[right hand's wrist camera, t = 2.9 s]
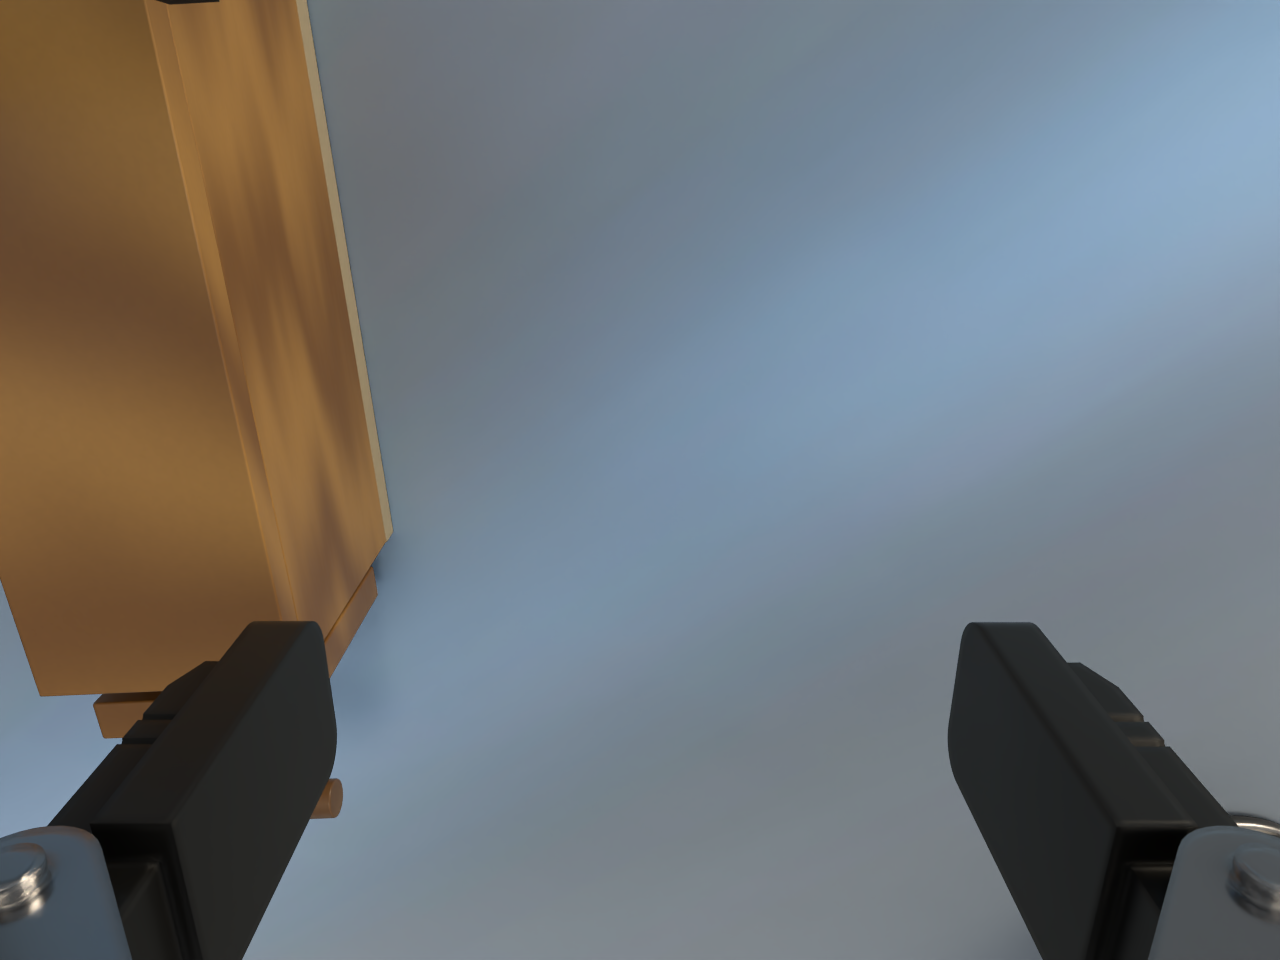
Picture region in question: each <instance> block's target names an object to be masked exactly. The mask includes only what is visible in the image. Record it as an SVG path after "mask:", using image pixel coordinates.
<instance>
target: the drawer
mask: <svg viewBox="0 0 1280 960" xmlns="http://www.w3.org/2000/svg"><path fill="white" fill-rule="evenodd" d="M377 595H378V593H377V587H376V581H375V575H374V570H373V567H370V568H369V569H368V571H367V573H366V574H365V576H364V577H363V579H362V581H361V582H360V584H359V585H358V587H357V588H356V590H355V592H354V593H353V595H352V596H351V598H350V600H349V601H348V603H347V604H346V606H345V608H344V609H343V611H342V612H341V614H340V615H339V617H338V619H337V620H336V622H335V623H334V625H333V627H332V628H331V630H330V631H329V633H328V635H327V636H326V638H325V639H324V644H325V650H326V657H327V664H328V671H329V678H330V677H331V676H332V674H333V672H334V670H335V669H336V667H337V665H338V663H339V662H340V660H341V658H342V656H343V655H344V653H345V651H346V649H347V648H348V646H349V644H350V642H351V641H352V639H353V637H354V635H355V634H356V632H357V630H358V629H359V627H360V625H361V623H362V622H363V620H364V618H365V616H366V615H367V613H368V611H369V609H370V608H371V606H372V604H373V602H374V601H375V599H376V597H377ZM161 692H162V691H154V692H131V693H108V694H102V695H101V696H100V697H99V698H98V699H97V700H96V701H95V702H94V704H93V707H94V710H95V713H96V716H97V719H98V723H99V726H100V729H101V732H102V735H103V737H104V738H123V737H124V736H125V734H126V733H127V732H128V731H129V730H130V729H131V727H132V726H133V725H134V724H135V723H136V722H137V720H142V719H143V713H144V712H145V711H146V710H147V709H148V707H149V706H150V705H151V704H152V703H153V702H154V700H155V699H156V698H157V697H158V696H159V695H160V693H161ZM342 801H343V789H342V784H341V781H340V780H339V779H337V778H335V779H329V780H328V782H327V784H326V786H325V788H324V790H323V792H322V795H321V797H320V799H319V801H318V803H317V805H316V807H315V809H314V811H313V813H312V815H311V817H310V819H321V818H335V817H337V816H338V814H339V813H340V810H341V806H342Z"/></svg>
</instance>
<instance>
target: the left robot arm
mask: <svg viewBox="0 0 1280 960" xmlns="http://www.w3.org/2000/svg"><path fill="white" fill-rule="evenodd" d="M156 1H159V2H163V3H166V4H169V5H173V4H191V3H208V2H220V1H219V0H156Z"/></svg>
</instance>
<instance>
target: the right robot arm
mask: <svg viewBox="0 0 1280 960" xmlns="http://www.w3.org/2000/svg"><path fill="white" fill-rule="evenodd" d="M336 745H337V728H336V719H335V712H334V706H333V699H332V692H331V685H330V678H329V671H328V664H327V657H326V650H325V644H324V638H323V634H322V630H321V628H320V626H319V625H318V623H317V622H315V621H253V622H251V623H249V624H248V625H247V626H246V628H245V629H244V630H243V631H242V633H241V634H240V635H239V636H238V638H237V639H236V640H235V641H234V643H233V644H232V645H231V646H230V648H229V649H228V650H227V651H226V653H225V654H224V655H223V657H222V658H221V659H220V660H219V661H205V662H203V663H202V664H200V665H198V666H197V667H195V668H194V669H192V670H191V671H189V672H188V673H186V674H184V675H183V676H181V677H180V678H178V679H177V680H175V681H174V682H172V683H170V684H169V685H167V686H166V688H165V689H164V690H163V691H162V692H161V693H160V695H159V696H158V697H157V698H156V699H155V700H154V702H153V703H152V704H151V705H150V706H149V707H148V709H147V710H146V711H145V712H144V713H143V719H142V720H137V722H136V723H135V724H134V725H133V726H132V727H131V729H130V730H129V731H128V732H127V733H126V734H125V736H124V737H123V738H122V744H117V745H116V746H115V747H114V748H113V750H112V751H111V752H110V753H109V754H108V755H107V757H106V758H105V759H104V760H103V761H102V762H101V764H100V765H99V766H98V767H97V768H96V769H95V771H94V772H93V773H92V774H91V775H90V776H89V778H88V779H87V780H86V781H85V782H84V783H83V785H82V786H81V787H80V788H79V789H78V790H77V792H76V793H75V794H74V795H73V796H72V798H71V799H70V800H69V801H68V802H67V803H66V805H65V806H64V807H63V808H62V809H61V810H60V812H59V813H58V814H57V815H56V816H55V817H54V819H53V820H52V821H51V822H50V823H49V824H48V826H46V827H39V828H33V829H29V830H24V831H20V832H17V833H14V834H11V835H8V836H5V837H2V838H0V960H242V959H243V957H244V954H245V952H246V950H247V948H248V946H249V944H250V942H251V940H252V938H253V936H254V934H255V932H256V930H257V927H258V925H259V923H260V921H261V919H262V917H263V915H264V913H265V911H266V909H267V907H268V905H269V903H270V900H271V898H272V896H273V894H274V892H275V890H276V888H277V886H278V884H279V882H280V880H281V878H282V876H283V873H284V871H285V869H286V867H287V865H288V863H289V861H290V859H291V857H292V855H293V853H294V851H295V849H296V846H297V844H298V842H299V840H300V838H301V836H302V834H303V832H304V830H305V828H306V826H307V824H308V822H309V819H310V817H311V815H312V813H313V811H314V809H315V807H316V805H317V803H318V801H319V799H320V797H321V795H322V792H323V790H324V788H325V786H326V784H327V782H328V780H329V778H330V775H331V772H332V769H333V765H334V760H335V754H336ZM948 751H949V758H950V764H951V768H952V772H953V775H954V778H955V780H956V782H957V784H958V786H959V789H960V791H961V793H962V795H963V797H964V799H965V801H966V803H967V805H968V807H969V809H970V811H971V813H972V815H973V817H974V819H975V821H976V823H977V825H978V828H979V830H980V832H981V834H982V836H983V838H984V840H985V842H986V844H987V846H988V848H989V850H990V852H991V854H992V856H993V858H994V860H995V862H996V864H997V866H998V869H999V871H1000V873H1001V875H1002V877H1003V879H1004V881H1005V883H1006V885H1007V887H1008V889H1009V891H1010V893H1011V895H1012V897H1013V899H1014V901H1015V903H1016V905H1017V908H1018V910H1019V912H1020V914H1021V916H1022V918H1023V920H1024V922H1025V924H1026V926H1027V928H1028V930H1029V932H1030V934H1031V936H1032V938H1033V940H1034V942H1035V944H1036V947H1037V949H1038V951H1039V953H1040V955H1041V957H1042V959H1043V960H1280V825H1279V824H1277V823H1274V822H1271V821H1268V820H1264V819H1260V818H1254V817H1247V816H1229V815H1228V814H1227V812H1226V811H1225V810H1224V809H1223V808H1222V807H1221V805H1220V804H1219V803H1218V802H1217V801H1216V800H1215V798H1214V797H1213V796H1212V795H1211V794H1210V793H1209V792H1208V790H1207V789H1206V788H1205V787H1204V786H1203V785H1202V783H1201V782H1200V781H1199V780H1198V779H1197V778H1196V776H1195V775H1194V774H1193V773H1192V772H1191V771H1190V770H1189V768H1188V767H1187V766H1186V765H1185V764H1184V763H1183V761H1182V760H1181V759H1180V758H1179V757H1178V756H1177V754H1176V753H1175V752H1174V751H1173V750H1172V749H1171V748H1170V747H1165V745H1164V739H1163V738H1162V737H1161V736H1160V735H1159V734H1158V732H1157V731H1156V730H1155V729H1154V728H1153V727H1152V725H1151V724H1150V723H1149V722H1144V720H1143V715H1142V714H1141V713H1140V712H1139V710H1138V709H1137V708H1136V707H1135V706H1134V705H1133V703H1132V702H1131V701H1130V700H1129V699H1128V698H1127V697H1126V695H1125V694H1124V693H1123V692H1122V691H1121V690H1120V688H1119V687H1117V686H1116V685H1114V684H1113V683H1111V682H1109V681H1108V680H1106V679H1105V678H1103V677H1102V676H1100V675H1099V674H1097V673H1095V672H1094V671H1092V670H1091V669H1089V668H1088V667H1086V666H1084V665H1083V664H1081V663H1067V662H1066V661H1065V660H1064V659H1063V657H1062V656H1061V655H1060V654H1059V652H1058V651H1057V650H1056V649H1055V647H1054V646H1053V645H1052V644H1051V642H1050V641H1049V640H1048V639H1047V637H1046V636H1045V635H1044V634H1043V632H1042V631H1041V630H1040V629H1039V628H1038V627H1037V626H1036V625H1035V624H1033V623H1030V622H972V623H969V624H968V625H967V626H966V627H965V629H964V632H963V635H962V639H961V644H960V651H959V658H958V664H957V671H956V678H955V685H954V691H953V698H952V705H951V712H950V719H949V726H948Z"/></svg>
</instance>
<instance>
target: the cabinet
mask: <svg viewBox="0 0 1280 960" xmlns="http://www.w3.org/2000/svg"><path fill="white" fill-rule="evenodd" d="M219 1H220V2H208V3H191V4H173V5H169V4H166V3H163V2H159V1H156V0H0V580H1V583H2V585H3V588H4V591H5V594H6V597H7V600H8V603H9V606H10V609H11V612H12V615H13V618H14V621H15V624H16V627H17V630H18V633H19V635H20V638H21V641H22V644H23V647H24V650H25V653H26V656H27V659H28V662H29V665H30V668H31V671H32V674H33V677H34V680H35V683H36V685H37V688H38V691H39V694H40V696H63V695H86V694H108V693H131V692H154V691H163V690H164V689H165V688H166V686H167V685H169V684H170V683H172V682H174V681H175V680H177V679H178V678H180V677H181V676H183V675H184V674H186V673H188V672H189V671H191V670H192V669H194V668H195V667H197V666H198V665H200V664H202V663H203V662H205V661H219V660H220V659H221V658H222V657H223V655H224V654H225V653H226V651H227V650H228V649H229V648H230V646H231V645H232V644H233V643H234V641H235V640H236V639H237V638H238V636H239V635H240V634H241V633H242V631H243V630H244V629H245V628H246V626H247V625H248V624H249V623H251V622H253V621H315V622H317V623H318V625H319V626H320V628H321V630H322V634H323V638H324V639H325V638H326V636H327V635H328V633H329V631H330V630H331V628H332V627H333V625H334V623H335V622H336V620H337V619H338V617H339V615H340V614H341V612H342V611H343V609H344V608H345V606H346V604H347V603H348V601H349V600H350V598H351V596H352V595H353V593H354V592H355V590H356V588H357V587H358V585H359V584H360V582H361V581H362V579H363V577H364V576H365V574H366V573H367V571H368V569H369V568H370V566H371V565H372V563H373V561H374V560H375V558H376V557H377V555H378V553H379V552H380V550H381V549H382V547H383V546H384V544H385V542H387V541H388V539H389V538H390V536H391V534H392V533H393V527H392V521H391V515H390V509H389V503H388V497H387V490H386V484H385V478H384V472H383V466H382V460H381V454H380V448H379V441H378V435H377V429H376V423H375V417H374V411H373V405H372V399H371V392H370V386H369V380H368V374H367V368H366V362H365V356H364V350H363V343H362V337H361V331H360V325H359V319H358V313H357V307H356V301H355V294H354V288H353V282H352V276H351V270H350V264H349V258H348V252H347V245H346V239H345V233H344V227H343V221H342V215H341V209H340V203H339V196H338V190H337V184H336V178H335V172H334V166H333V160H332V154H331V147H330V141H329V135H328V129H327V123H326V117H325V111H324V105H323V98H322V92H321V86H320V80H319V74H318V68H317V62H316V56H315V49H314V43H313V37H312V31H311V25H310V19H309V13H308V7H307V0H219Z"/></svg>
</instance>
